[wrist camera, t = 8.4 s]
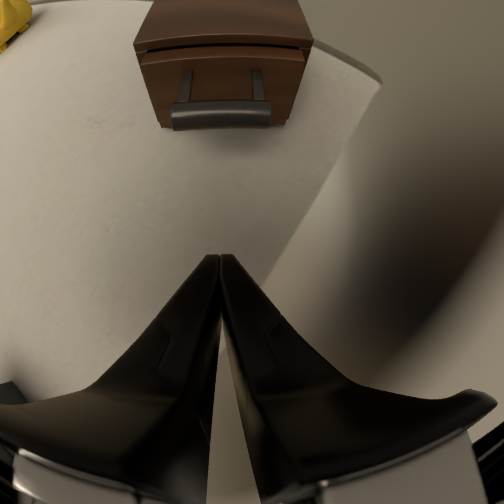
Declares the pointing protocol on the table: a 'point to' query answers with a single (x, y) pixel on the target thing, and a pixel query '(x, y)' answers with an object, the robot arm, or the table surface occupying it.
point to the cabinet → (224, 26)
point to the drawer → (222, 85)
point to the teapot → (13, 19)
